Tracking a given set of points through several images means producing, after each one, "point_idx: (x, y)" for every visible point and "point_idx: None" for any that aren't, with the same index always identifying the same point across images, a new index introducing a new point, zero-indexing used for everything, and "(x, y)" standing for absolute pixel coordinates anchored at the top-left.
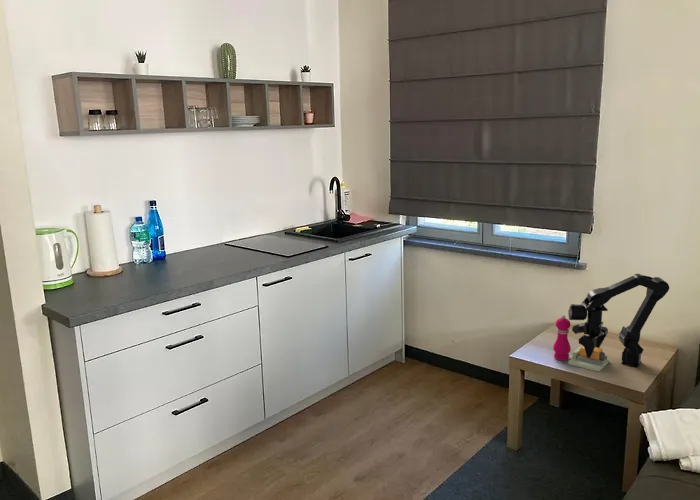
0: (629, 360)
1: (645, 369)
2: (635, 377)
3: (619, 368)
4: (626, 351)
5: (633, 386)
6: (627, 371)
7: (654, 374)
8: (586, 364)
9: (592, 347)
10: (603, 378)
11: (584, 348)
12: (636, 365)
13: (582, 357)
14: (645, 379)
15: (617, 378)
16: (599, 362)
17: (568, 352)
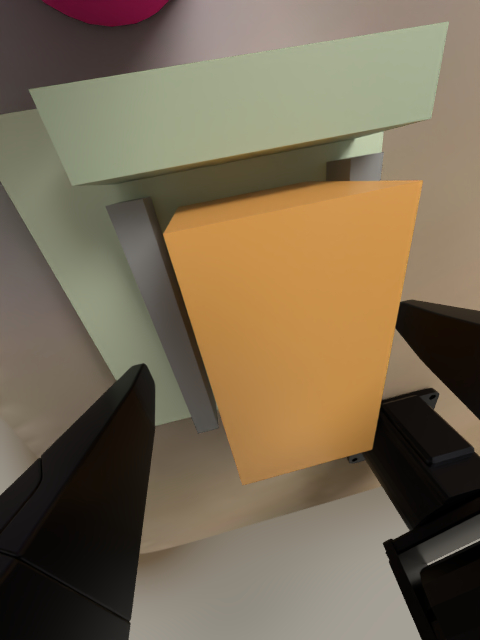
0: (371, 460)
1: (347, 474)
2: (238, 498)
3: None
4: (424, 505)
5: (146, 534)
6: None
7: (318, 504)
8: (111, 341)
9: None
10: None
11: (215, 315)
12: (360, 456)
13: (146, 277)
14: (249, 516)
15: (159, 483)
16: (194, 421)
17: None
